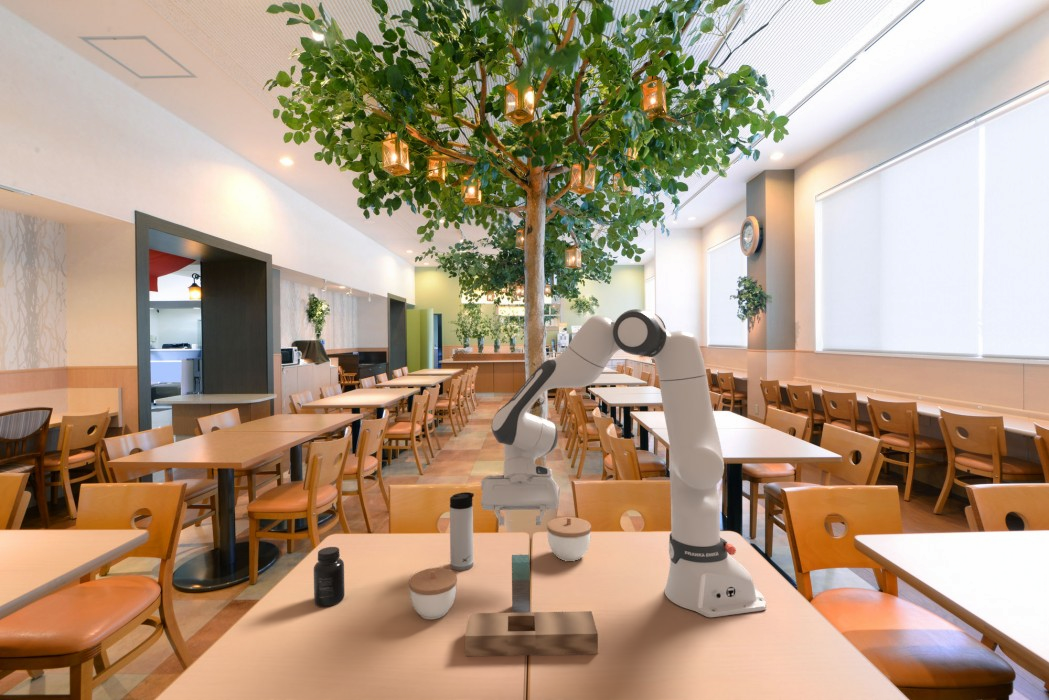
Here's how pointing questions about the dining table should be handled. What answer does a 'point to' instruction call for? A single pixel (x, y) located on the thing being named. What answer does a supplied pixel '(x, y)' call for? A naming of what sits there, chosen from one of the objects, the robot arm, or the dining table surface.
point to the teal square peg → (520, 583)
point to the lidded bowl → (569, 537)
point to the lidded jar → (433, 592)
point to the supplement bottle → (328, 577)
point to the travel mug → (461, 531)
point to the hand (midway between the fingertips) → (520, 524)
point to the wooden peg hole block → (531, 633)
